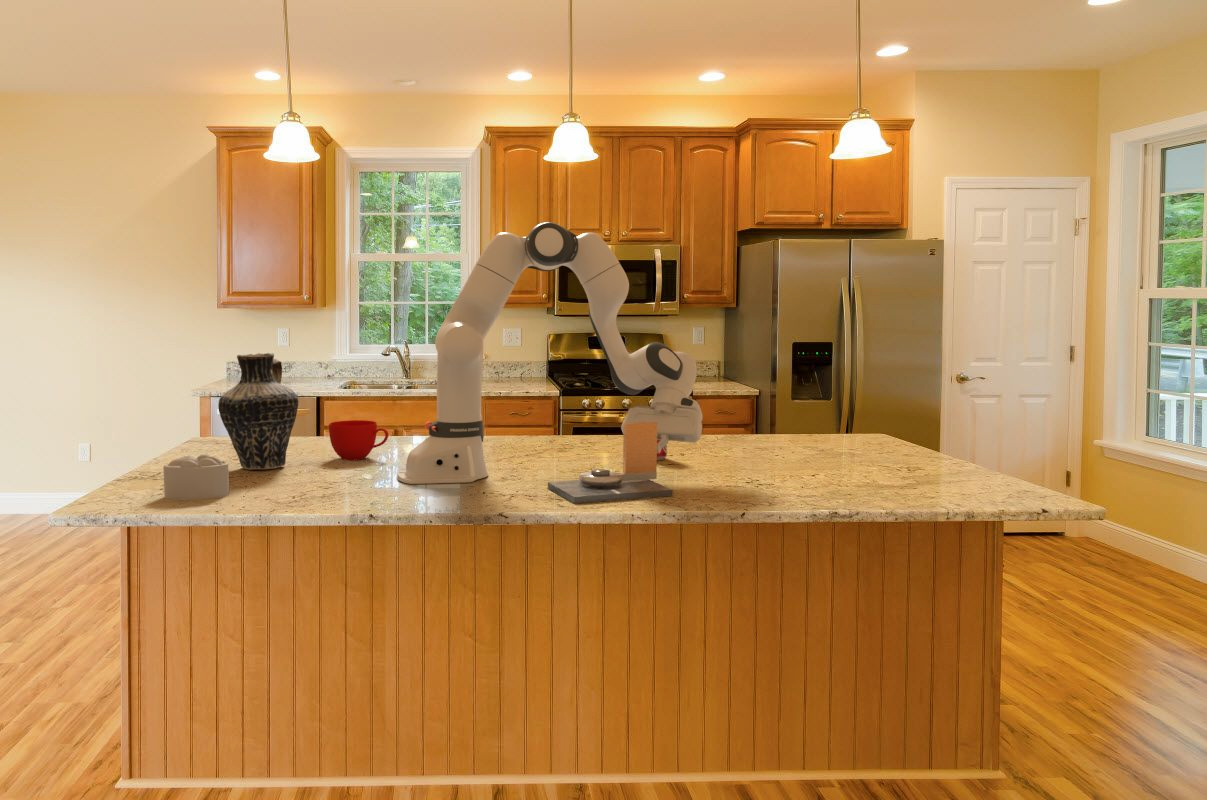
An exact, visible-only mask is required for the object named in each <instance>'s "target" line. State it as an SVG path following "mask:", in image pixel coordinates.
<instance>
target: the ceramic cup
mask: <svg viewBox="0 0 1207 800" xmlns="http://www.w3.org/2000/svg"><path fill="white" fill-rule="evenodd" d="M377 427H378V424H377V421H373V420H365V419H364V420H357V419H354V420H353V419H351V420H340V421H333V422H330V423H328V433H329V434H328V435H329V441H330V444H331V447H332V449H333V450H334V452H335V453H336V454H337V456H338V457H339V458H340V459H341V460H343V461H360V459H362V460H365V459H367V457H368V456H369V454H370V453H371V452H372V450H373V449H375V448H378V447H380V446H382V445H385V443H386V442H388V439H389V432H388V430H387V429H386V428H384V427H379V428H377ZM380 431H382V432H384V439H383V440H382V441H381V442H379V443H376V439H377V433H379V432H380ZM375 443H376V444H375Z"/></svg>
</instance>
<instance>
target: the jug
mask: <svg viewBox="0 0 1207 800" xmlns="http://www.w3.org/2000/svg"><path fill="white" fill-rule="evenodd" d="M274 357H275V353H269V352H268V353H259V352H258V353H255V354H252V353H251V354H250V353H249V354H237V356H236V358H237V361H238V365H239V368H240V373H241V374H240V378H239V379H240V380H239V381H238V383H237V384H236V385H234V386H233V387H232V388H230V389H229V390H227V391H225V392H224V393H223V394H222V395H221V396H220V398H219V399H218V407H217V408H218V412H219V413H218V414H219V416H220V419H221V421H222V424H223V426H224V428H225V430H226V432H227V434H228V436H229V438H230V441H231V444H232V446H233V449H234V451H235V452H236V455H237V457H238V460H239V463H240V466H241V468H242V469H245V470H271V469H277V468H280V467H283V466H285V465H286V464H287V463H286V461H287V460H286V458H287V449H288V446H289V443H290V438H291V434H292V430H293V427H294V425H295V421H296V418H297V413H298V407H299V397H298V395H297V394H296V392H295V391H294V390H292V389H291V388H289V387H288V386H285V385H283V384H282V383H281V382H282V376H283V364H282V362H281V360H279V359H277V358H274Z"/></svg>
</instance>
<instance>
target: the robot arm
mask: <svg viewBox="0 0 1207 800" xmlns="http://www.w3.org/2000/svg"><path fill="white" fill-rule="evenodd" d="M609 246H610V245H608V244H607V242H606V240H604V239H603V238H602V237H601V235H599V234H598V233H596V232H584V233H581V234H579V235H578V236H577V235H576V234H575V233H574V232H572V231H570V230H568V229H566V228H565V227H564V226H562V225H560V224H558V223H555V222H551V221H550V222H549V221H547V222H542V223H539V224H537V225H535V226H534V227H533V228H532V229H531V230H530V231H529V234H528V235H526V236H522V237H521V236H519V235H516V234H515V233H512V232H507V231H506V232H505V231H503V232H499V233H496V235H494V236H493V238H492V239H491V240H490V242H489V243H488V244H487V246H486V247H485V248H484V250H483V251H482V253H481V254H480V255H479V258H478V259H477V261H476V263H475V265H474V267H473V269H472V270H471V272H470V274H469V276H468V277H467V280H466V282H465V283H464V285H463V287H462V289H461V291H460V292H459V294H458V296H457V298H456V299H455V301H454V303H453V304H452V306H451V308H450V310H449V311H448V313H447V314H446V317H445V318H444V321H442V323H441V326H440V327H439V329H438V331H437V332H436V335H435V341H434V342H435V343H434V345H435V349H436V351H437V370H436V371H437V374H436V420H435V421H433V422H431V421H425V423H424V425H423V426H424V428H425V429H426V430H427V431H428V435H429V436H428V437H426V439H424V440H423V441H422V442H420V443H419V444H417V446H415V447H414V448H413V449H411V450H410V451H409V452H408V456H407V458H406V465H405V470H401V471H398V472H397V473H396V478H397V480H398V481H400V482H402V483H405V484H411V485H417V484H419V485H421V484H455V483H456V484H457V483H472V482H473V483H474V482H475V481H476V480H481V479H484V478H486V477H488V476H489V473H488V470H487V464H486V462H485V455H484V448H483V446H484V445H483V442H484V437H485V434H484V433H485V431H484V430H485V428H484V427H485V426H484V420H483V419H482V386H483V385H482V383H483V368H484V367H483V365H484V340H485V338H486V337H487V334H488V333H489V331H490V330H491V328H492V327H493V325H494V323H495V321H497V318H498V317H499V316H500V314H501V313H502V311H503V309H504V307H505V305H506V304H507V302H508V300H509V298H510V295H511V294H512V292H513V290H514V289H515V286H516V284H517V283H518V282H519V281H518V280H519V279H520V277H521V275H522V274H523V272H524V271H525V269H532V270H533V269H534V270H537V271H540V272H541V271H542V272H552V271H555V270H557V269H559V268H561V266H564V267H567V268H568V269H570V270H571V271H572V272H573V273H574V274H575V276H576V277H577V280H579V283H580V285H581V286H582V288H583V290H584V292H585V294H586V297H587V300H588V307H589V309H588V317H589V320H590V323H591V326H592V328H593V330H594V333H595V336H596V337H597V341H598V343H599V344H600V347H601V349H602V352H603V354H604V357H605V360H606V361H607V364H608V367H609V370H610V375H611V379H612V382H613V383H614V386H615V387H616V388H617V389H618V390H619V391H620V392H622V393H624V394H626V395H630V396H635V395H638V394H640V393H641V392H643V391H644V390H646V389H647V388H649V387H651V386H654V387H655V391H654V395H653V397H652V400H651V403H650V405H635V406H633V407H630V408H628V410H627V413H626V415H625V417H624V420H623V422H622V424H621V426H620V429H621V431H622V433H623V428H624V423H636V422H657V440H660V441H659V442H658V444H657V453H660V452H661V449H662V448H663V447H664V446H665V445H667V444H669V442H684V443H694V444H696V443H697V442H699V441H700V439H701V436H702V432H703V423H702V421H703V413H702V412H703V411H702V409H701V406H700V404H699V402H698V401H697V400H695V399H692V398H690V395H691V394H692V392H693V390H694V386H695V383H696V378H697V374H698V373H697V372H698V371H697V370H698V369H697V362H696V360H695V359H694V357H692V356H691V355H690V354H688V353H686V352H684V351H675V350H672V349H671V348H670V347H669V346H667V345H665V343H661V342H658V341H655V342H654V341H653V342H651V343H649V344H647V345H645V346H643V347H641V348H639V349H638V350H635V351H634V352H632V353H630V352H629V351H628V350H627V348H626V345H625V343H624V341H623V339H622V335H621V334H620V330H619V328H618V326H617V318H618V317H617V316H618V314H619V311H620V309H621V308H622V306H623V304H624V303H625V301H626V300H627V298H628V297H627V296H628V294H629V290H630V282H629V278H628V276H627V274H626V272H625V270H624V268H623V267H622V265H621V263H620V261H619V259H618V258H617V256H616V255H615V253H614V252H613V250H612V249H611V248H610V247H609Z"/></svg>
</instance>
